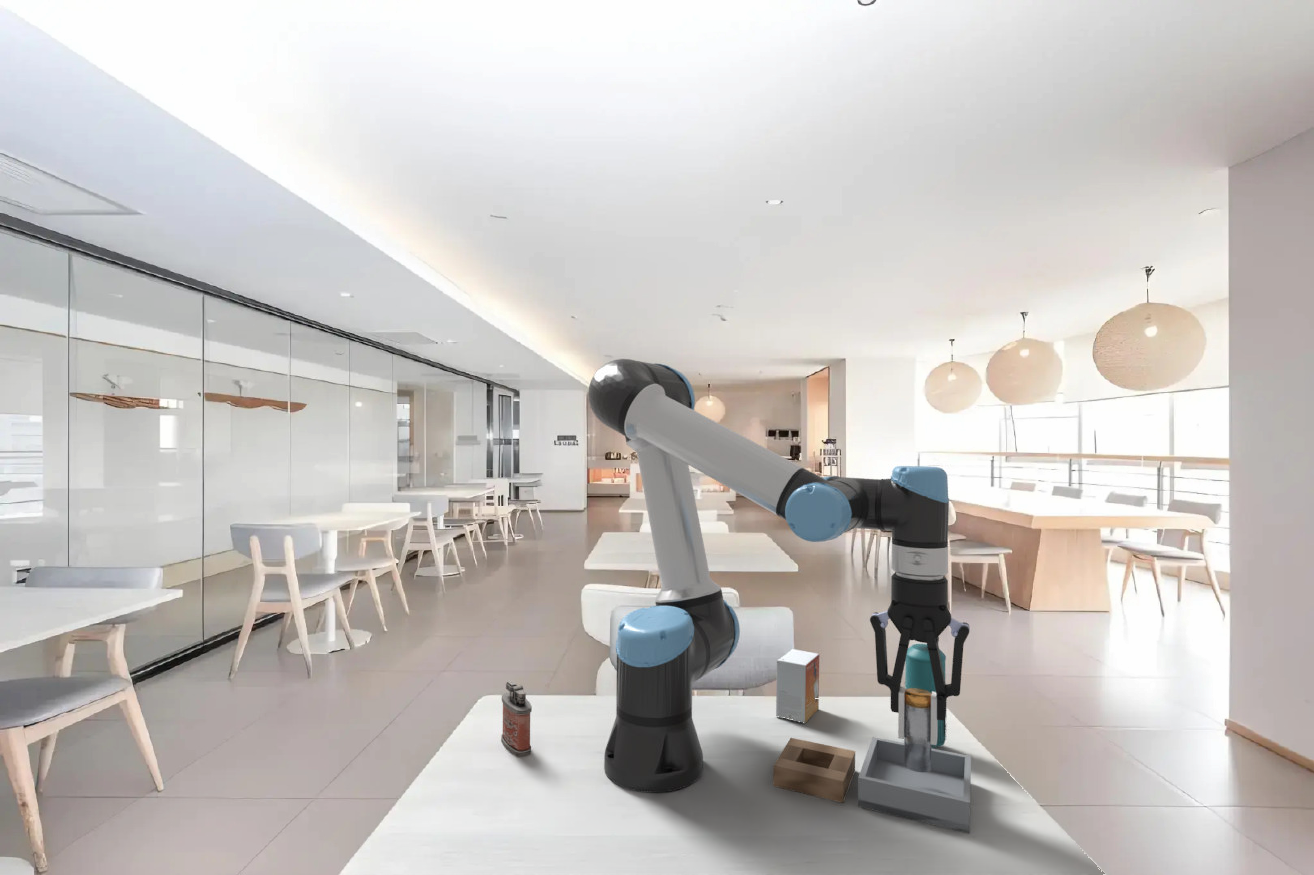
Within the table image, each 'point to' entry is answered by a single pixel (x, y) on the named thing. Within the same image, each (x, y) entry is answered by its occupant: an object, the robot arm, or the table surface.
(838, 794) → the block
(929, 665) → the beverage bottle
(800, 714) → the small box
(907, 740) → the pin
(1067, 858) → the table surface
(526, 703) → the lighter
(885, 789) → the tray
